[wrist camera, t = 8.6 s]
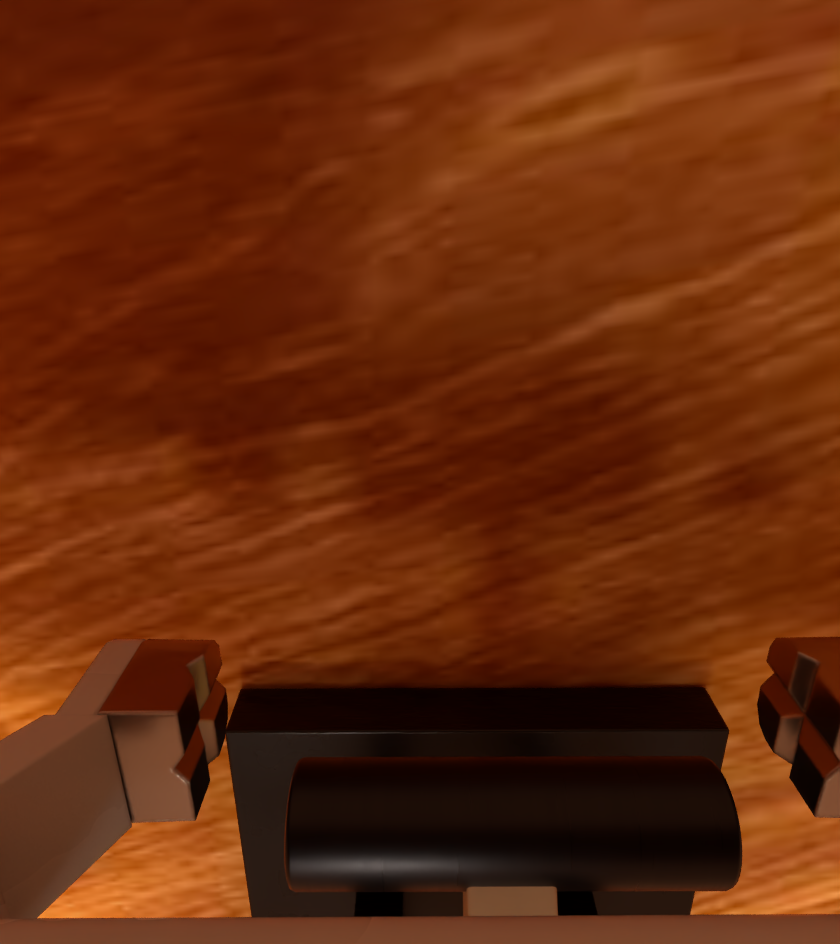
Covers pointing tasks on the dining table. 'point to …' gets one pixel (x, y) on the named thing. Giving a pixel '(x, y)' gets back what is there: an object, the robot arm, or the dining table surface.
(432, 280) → the dining table surface
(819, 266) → the dining table surface
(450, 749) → the bracket
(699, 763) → the lever
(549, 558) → the dining table surface
